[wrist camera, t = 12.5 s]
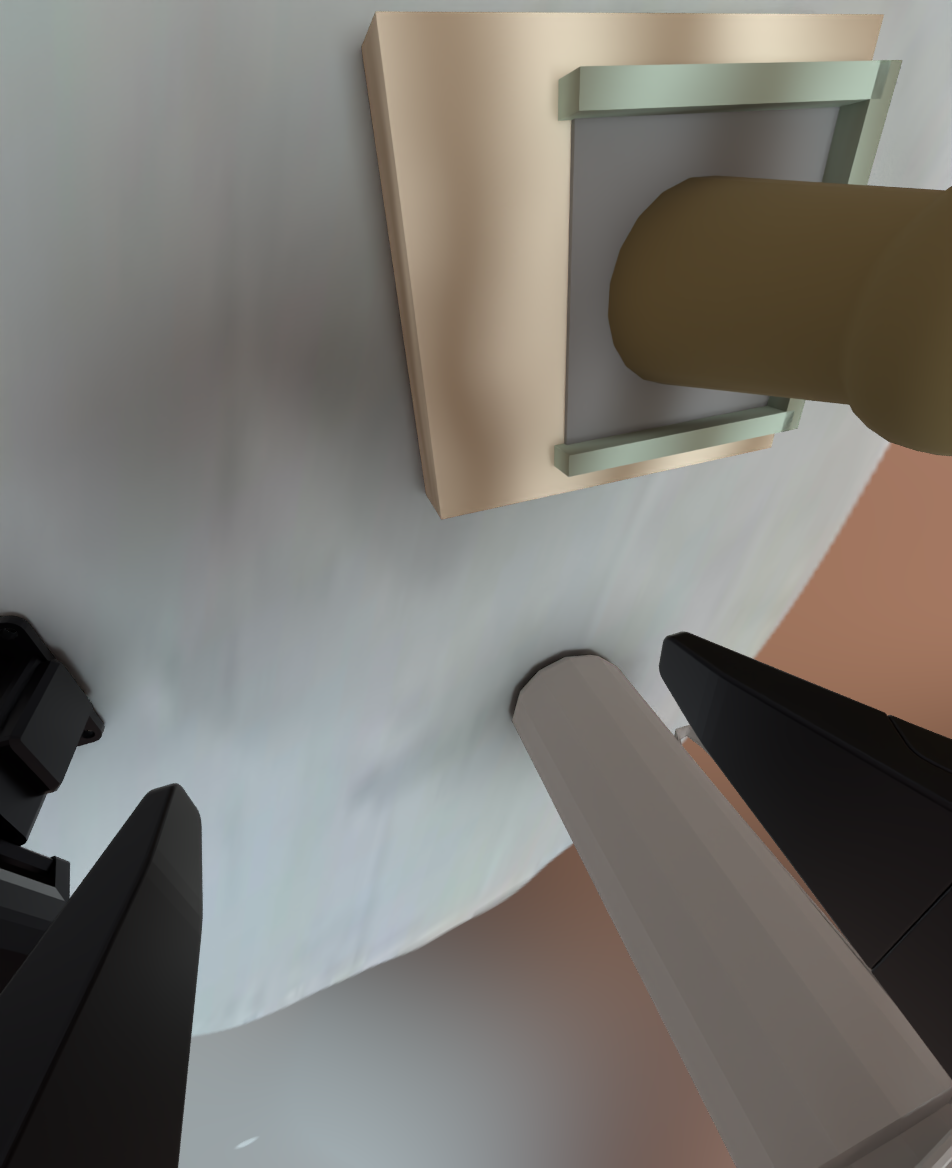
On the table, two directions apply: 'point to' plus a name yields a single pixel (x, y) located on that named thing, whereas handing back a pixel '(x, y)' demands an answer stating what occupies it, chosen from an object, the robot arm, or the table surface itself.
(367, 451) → the table surface
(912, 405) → the cork
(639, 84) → the dock
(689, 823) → the water bottle
